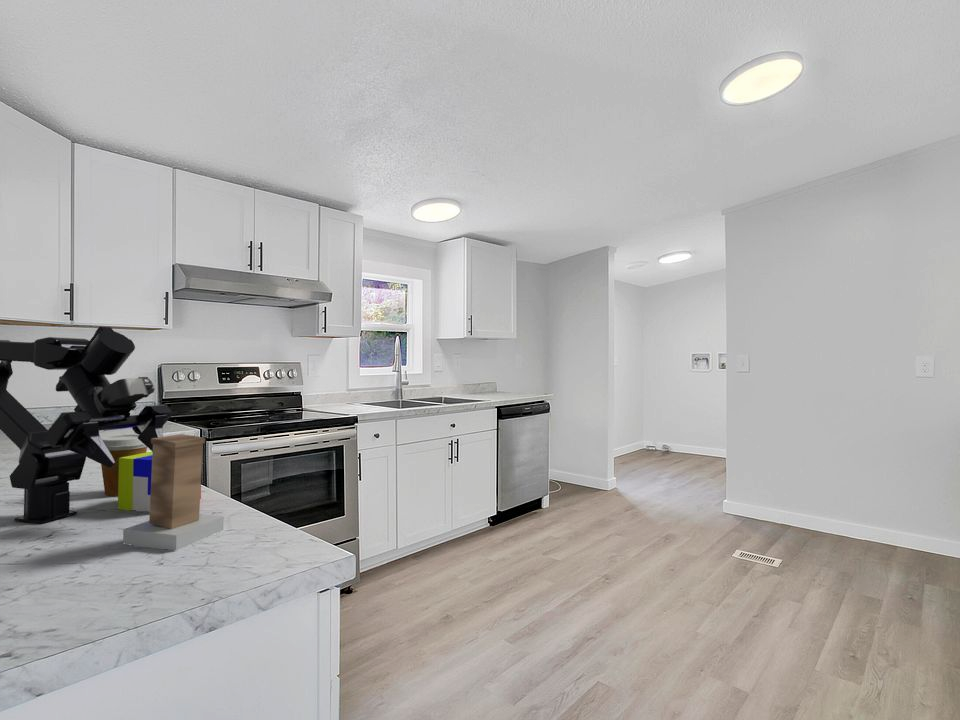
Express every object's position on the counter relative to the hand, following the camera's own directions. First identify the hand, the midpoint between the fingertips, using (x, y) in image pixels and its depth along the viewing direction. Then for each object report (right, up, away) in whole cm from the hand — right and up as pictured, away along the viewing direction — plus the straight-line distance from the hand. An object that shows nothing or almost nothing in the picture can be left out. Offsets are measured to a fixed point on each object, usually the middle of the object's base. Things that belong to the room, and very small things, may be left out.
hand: (139, 461), depth 87 cm
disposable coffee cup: (-20, -12, +25) cm, 34 cm away
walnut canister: (+7, -9, -3) cm, 12 cm away
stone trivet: (+7, -13, -2) cm, 15 cm away
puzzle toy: (-7, -12, +16) cm, 21 cm away
